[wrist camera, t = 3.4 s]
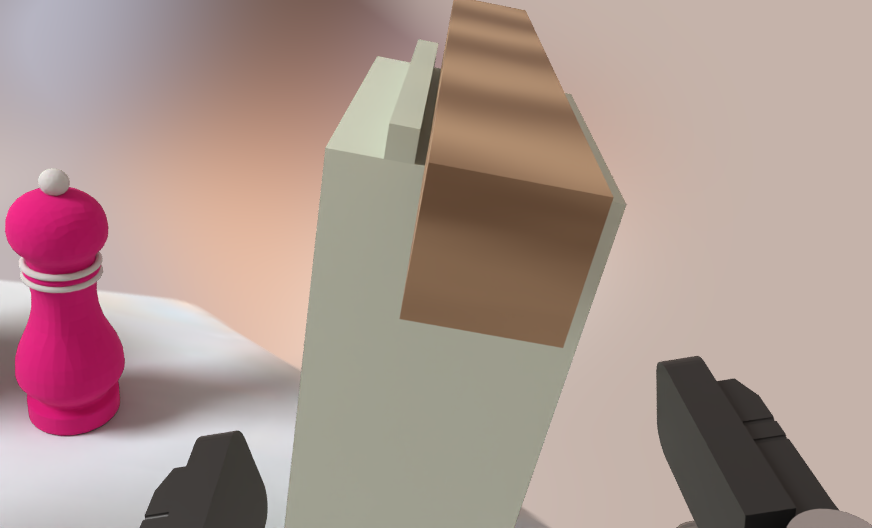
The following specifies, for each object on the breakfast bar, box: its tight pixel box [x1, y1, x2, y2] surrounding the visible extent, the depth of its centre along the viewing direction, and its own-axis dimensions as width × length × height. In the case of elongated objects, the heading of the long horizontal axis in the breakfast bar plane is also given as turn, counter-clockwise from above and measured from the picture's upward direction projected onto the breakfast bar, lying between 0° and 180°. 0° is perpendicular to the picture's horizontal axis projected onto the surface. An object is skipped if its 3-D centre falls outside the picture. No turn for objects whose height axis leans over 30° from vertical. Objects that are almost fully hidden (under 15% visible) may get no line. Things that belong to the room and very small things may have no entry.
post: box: [284, 40, 626, 528], centre depth 36 cm, size 14×10×33 cm
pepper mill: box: [5, 168, 125, 436], centre depth 48 cm, size 7×7×20 cm
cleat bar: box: [399, 0, 614, 348], centre depth 23 cm, size 23×4×4 cm, turn 177°
